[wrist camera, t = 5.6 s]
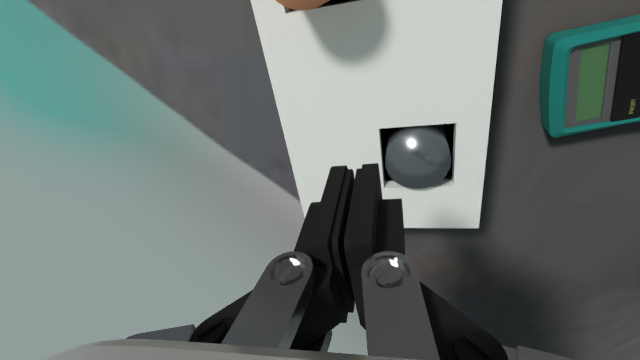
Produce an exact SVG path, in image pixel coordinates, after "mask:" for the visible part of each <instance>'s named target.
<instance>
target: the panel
mask: <svg viewBox="0 0 640 360" xmlns="http://www.w3.org/2000/svg"><path fill="white" fill-rule="evenodd" d="M502 1H503V0H353V1H347V2H341V3H335V4H330V5H324V6H319V7H317V8H314V9H310V10H294V9H290V8H287V7H285V6H283V5H281V4H280V3H278V2H277V1H276V0H251V3H252V7H253V11H254V15H255V20H256V24H257V28H258V32H259V36H260V40H261V44H262V48H263V52H264V56H265V60H266V64H267V68H268V72H269V76H270V80H271V84H272V88H273V92H274V96H275V100H276V104H277V108H278V112H279V116H280V120H281V124H282V128H283V132H284V136H285V140H286V144H287V148H288V152H289V157H290V161H291V165H292V169H293V173H294V177H295V181H296V185H297V189H298V193H299V197H300V201H301V205H302V208H303V213H304V217H306V214H307V211H308V208H309V206H310V204H311V203H312V202H320V201H321V198H322V195H323V191H324V188H325V185H326V181H327V178H328V175H329V172H330V168H331V167H332V166H345V165H346V166H347V168H348V169H353V172H354V178H355V175H356V170H357V169H359V168H362V164H373V163H378V165H379V172H380V181H381V190H382V198H383V199H401V198H402V207H403V221H404V228H479V222H480V212H481V203H482V193H483V183H484V174H485V164H486V155H487V145H488V135H489V126H490V116H491V107H492V97H493V87H494V78H495V68H496V59H497V49H498V39H499V30H500V20H501V10H502ZM452 123H454V139H453V161H452V177H444V178H443V179H442V180H441V181H440V182H438V183H437V184H435V185H433V186H430V187H427V188H422V189H412V188H407V187H404V186H401V185H399V184H398V183H396V182H395V181H394V180H393V179H384V169H383V156H382V144H381V132H380V129H382V128H396V127H410V126H424V125H438V124H452Z"/></svg>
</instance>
